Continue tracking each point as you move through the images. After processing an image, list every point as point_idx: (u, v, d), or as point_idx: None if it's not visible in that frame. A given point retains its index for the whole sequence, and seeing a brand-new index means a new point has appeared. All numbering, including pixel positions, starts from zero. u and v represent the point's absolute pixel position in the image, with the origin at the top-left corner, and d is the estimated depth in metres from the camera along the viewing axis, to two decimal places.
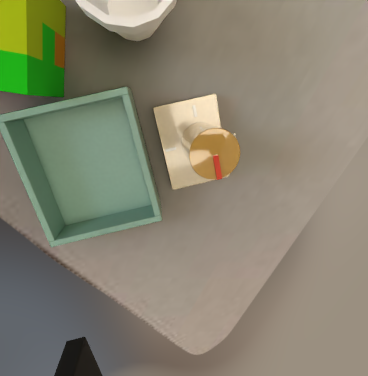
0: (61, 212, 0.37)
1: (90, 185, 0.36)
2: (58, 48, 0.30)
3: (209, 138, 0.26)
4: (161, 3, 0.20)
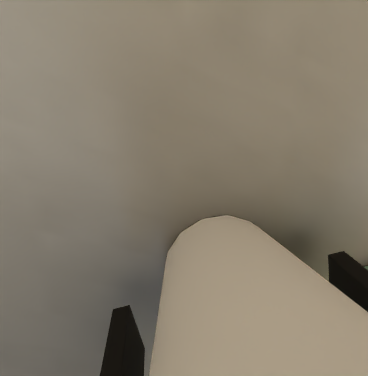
0: None
1: None
2: None
3: None
4: None
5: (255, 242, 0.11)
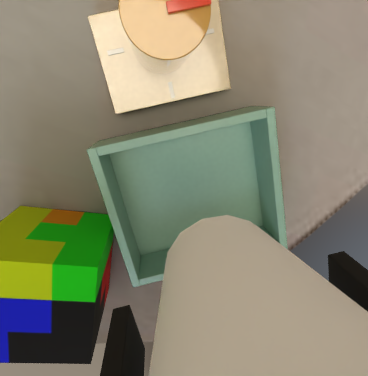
0: None
1: (216, 195, 0.30)
2: (60, 219, 0.27)
3: (137, 20, 0.15)
4: None
5: (255, 242, 0.11)
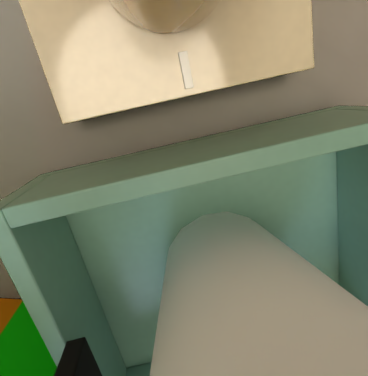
0: None
1: None
2: None
3: None
4: None
5: (253, 236, 0.11)
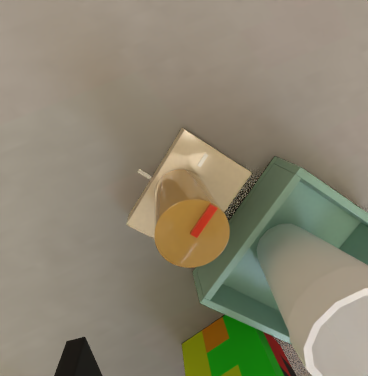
0: (349, 234, 0.32)
1: None
2: (214, 339, 0.32)
3: (182, 255, 0.18)
4: None
5: (281, 243, 0.26)
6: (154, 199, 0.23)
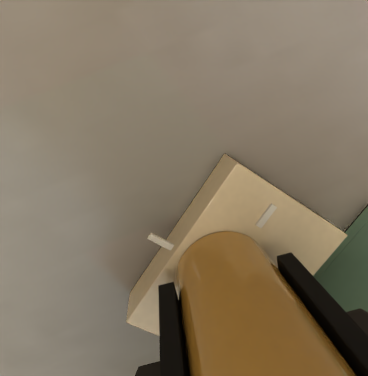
0: None
1: None
2: None
3: None
4: None
5: None
6: (181, 301, 0.12)
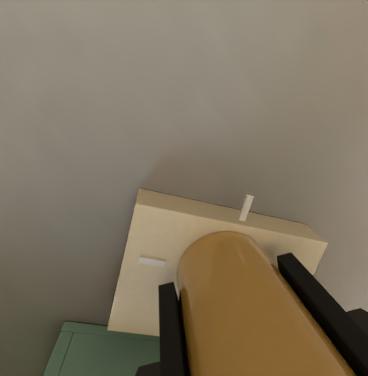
0: None
1: None
2: None
3: None
4: None
5: None
6: (181, 301, 0.12)
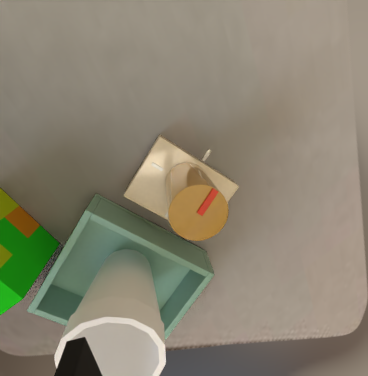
0: None
1: None
2: (19, 222, 0.30)
3: (190, 230, 0.23)
4: (160, 357, 0.23)
5: (146, 271, 0.31)
6: (165, 187, 0.28)
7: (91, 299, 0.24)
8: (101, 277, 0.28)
